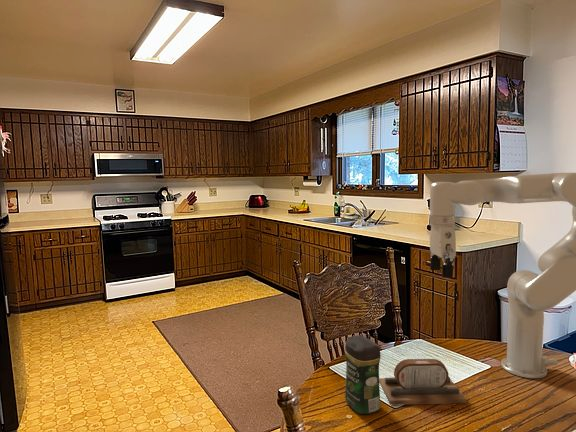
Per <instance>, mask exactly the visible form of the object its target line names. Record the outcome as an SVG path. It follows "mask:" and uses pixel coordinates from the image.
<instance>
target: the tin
mask: <svg viewBox="0 0 576 432" xmlns="http://www.w3.org/2000/svg"><path fill="white" fill-rule="evenodd" d="M393 376H394V377H393V378H395V379H396V381H397V382H398V384H399V385H400V386H401V387H402V388H435V387H443V386H444V385H445V384H446V383H447V380H448V376H449V371H448V369H447V367H446V366H445V364H444V363H443V362H442V361H441V360H439V359H437V358H409V359H408V358H407V359H404V360H401V361H399V362H398V363H397V364H396V366H395V368H394V370H393Z"/></svg>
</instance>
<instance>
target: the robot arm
mask: <svg viewBox="0 0 576 432" xmlns="http://www.w3.org/2000/svg"><path fill="white" fill-rule="evenodd" d="M429 188H430V190H429V191H430V192H429V226H430V236H429V237H430V238H429V252H430V255H429V258H430V259H429V260H430V262H429V268H430V270H431V271H440V270H441V277H442V278H445V279H446V278H453V276H454V273H453V272H454V265H455V264H454V262H455V257H456V256H457V252H456V251H457V245H456V244H457V243H456V241H457V238H456V229H455V225H456V205H463V206H475V205H478V204H479V203H494V202H495V203H503V204H530V203H531V204H532V203H551V202H566V203H568V204H570V205H571V206H572V208H571V216H572V226H571V228H570V230H569V231H568V233H566V234H565V235H564V236H563V237H562V238H560V240H558V241H557V242H556V243H555V244H553V245H552V246H551V247H550V248H548V249H547V250H546V251H545V252H544V253H542V254H541V255H540V256H539V258H538V260H537V267H538V269H539V271H540V272H541V273H540V274H538V273H535V272H534V271H531V270H528V269H527V270H525V269H521V270H520V269H519V270H517V271H515V272H513V273H512V274H511V275H510V277H508V280H507V284H506V285H507V286H506V289H507V301H508V315H507V316H508V319H507V321H508V322H507V324H508V325H507V344H506V345H507V347H506V357H504V358H502V359H501V360H500V362H501V363H500V364H501V365H500V366H501V367H502V368H503V369H504V370H505V372H508V373H509V374H513V375H515V376H518V377H521V378H527V379H542V378H544V377H546V376H547V375H548V369H547V367H548V365H550V366H557V365H558V360H557V358H554V357H553V358H549V357H548V356H547V355H543V345H544V343H543V340H544V322H545V314H544V312H546V311H550V310H551V309H553V308H555V307H556V306H557V305H559V304H561V302H563V301H564V300H566V299H567V298H568V297H569V296H571V295H572V294H574V292H576V172H553V173H541V174H540V173H539V174H525V175H522V174H521V175H512V176H504V177H495V178H484V179H468V180H460V181H458V182H451V181H436V182H435V181H434V182H432V183H431V184H430V187H429ZM441 261H442V264H441Z"/></svg>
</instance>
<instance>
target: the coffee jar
mask: <svg viewBox="0 0 576 432" xmlns="http://www.w3.org/2000/svg"><path fill="white" fill-rule="evenodd" d="M344 351H345V352H344V354H345V365H346V367H345V369H346V370H345V373H346V374H345V391H344V392H345V395H344V397H345V402H346V404H348V406H349V407H350V409H352V410H353V411H355V412H356V413H358V414H360V415H362V414H363V415H372V414H374V413H376V412H377V411H379V410H380V409H381V392H380V391H381V390H380V389H381V388H380V383H379V378H380V361H381V356H382V354H381V347H380V345H379V344H378V343H376V342H374V341H373V340H371V339H370V338H367V337H365V336H363V335H362V334H358V335H353V336H349V337H348V338H347V339H346V340H345V348H344Z"/></svg>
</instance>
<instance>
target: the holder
mask: <svg viewBox="0 0 576 432" xmlns="http://www.w3.org/2000/svg"><path fill="white" fill-rule="evenodd" d="M379 386H380V387H381V389H382V391H383V393H384V395H386V396H385V398H386V397H387V398H386V400H387V399H388V400H387V402H388V401H389V402H388V404H389V405H390V406H392V405H391V404H406V405H435V404H436V405H438V404H439V405H441V404H442V405H443V404H467V403H468V402H467V401H468V399H467V397H466V396H465V395H464V393H463V392H462V391H461V390H460V387H458V386H457V385H456V384H455V383H454V382H453V381H452V379H451V377H450V376H449V375H448V380H447V383H446V384H445V385H444V386H443V387H435V388H402V387H401V386H400V385H399V384H398V382H397V381H396V379H395V377H384V378H383V377H382V378H380V377H379Z"/></svg>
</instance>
